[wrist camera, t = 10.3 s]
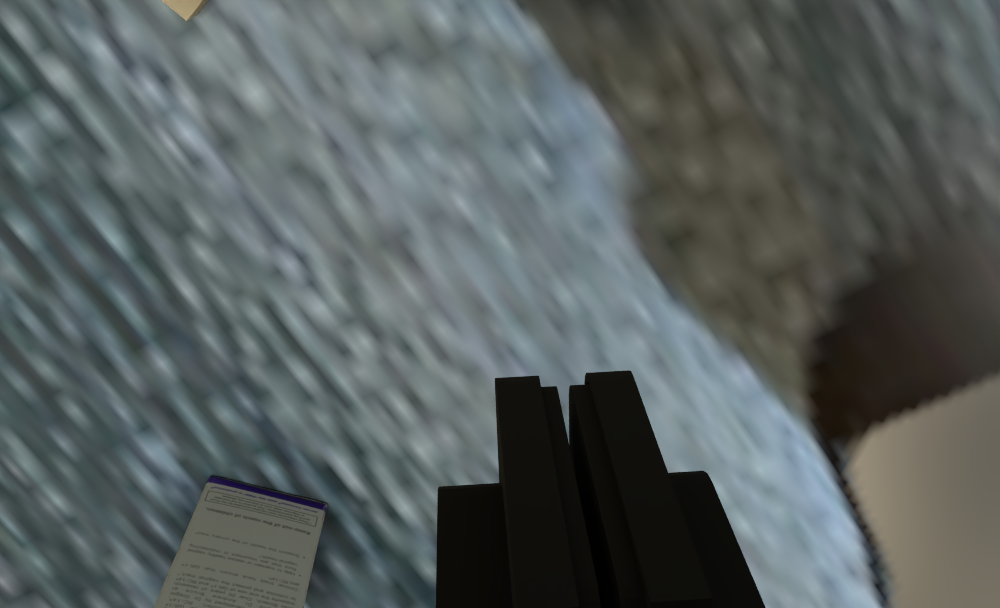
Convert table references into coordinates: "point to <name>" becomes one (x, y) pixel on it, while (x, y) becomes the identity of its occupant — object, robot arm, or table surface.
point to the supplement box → (245, 549)
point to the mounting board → (186, 7)
